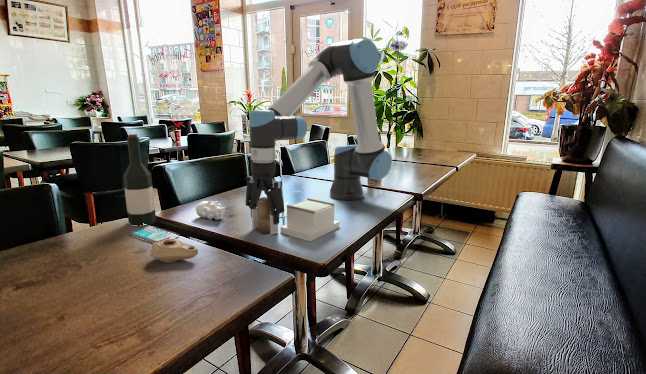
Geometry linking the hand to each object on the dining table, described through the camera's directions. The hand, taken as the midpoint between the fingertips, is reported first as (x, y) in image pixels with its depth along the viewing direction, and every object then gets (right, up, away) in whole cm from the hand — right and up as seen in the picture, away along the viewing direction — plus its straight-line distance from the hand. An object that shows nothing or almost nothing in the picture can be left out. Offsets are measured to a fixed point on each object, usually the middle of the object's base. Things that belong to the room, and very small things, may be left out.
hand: (265, 230), depth 113 cm
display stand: (+15, 0, +2) cm, 15 cm away
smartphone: (-34, -2, -5) cm, 34 cm away
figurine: (-21, +2, +11) cm, 24 cm away
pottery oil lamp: (-20, -6, -22) cm, 30 cm away
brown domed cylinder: (0, 0, 0) cm, 0 cm away
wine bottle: (-43, +2, +7) cm, 44 cm away
